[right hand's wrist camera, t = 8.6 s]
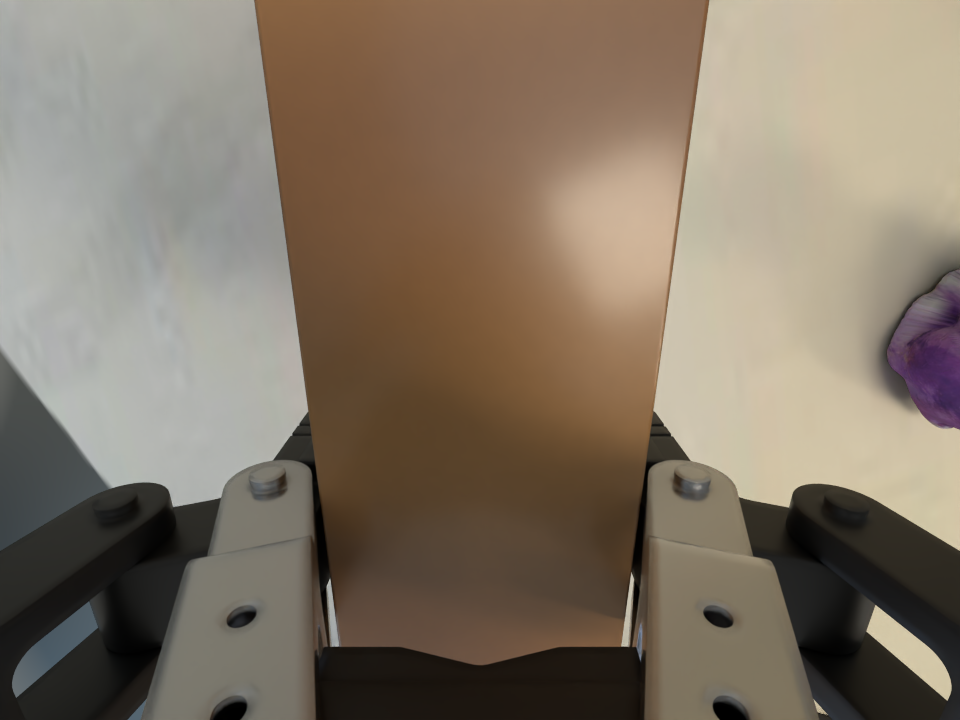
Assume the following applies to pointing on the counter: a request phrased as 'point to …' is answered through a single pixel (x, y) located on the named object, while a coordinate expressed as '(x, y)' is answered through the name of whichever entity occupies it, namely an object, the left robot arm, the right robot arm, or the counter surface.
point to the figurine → (932, 352)
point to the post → (481, 300)
